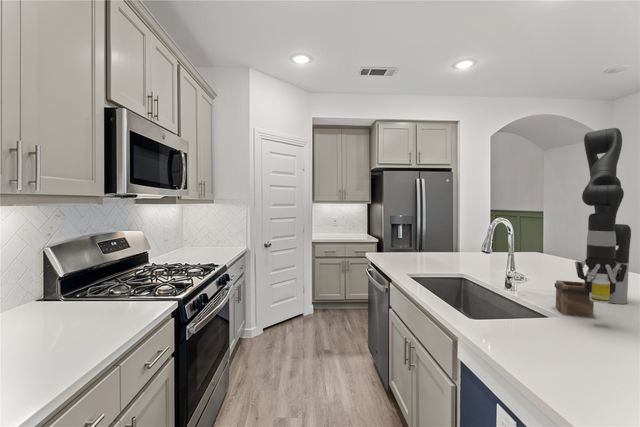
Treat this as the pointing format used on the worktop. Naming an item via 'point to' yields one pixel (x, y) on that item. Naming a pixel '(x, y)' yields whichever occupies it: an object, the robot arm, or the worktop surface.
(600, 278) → the supplement bottle
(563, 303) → the brown wooden box
